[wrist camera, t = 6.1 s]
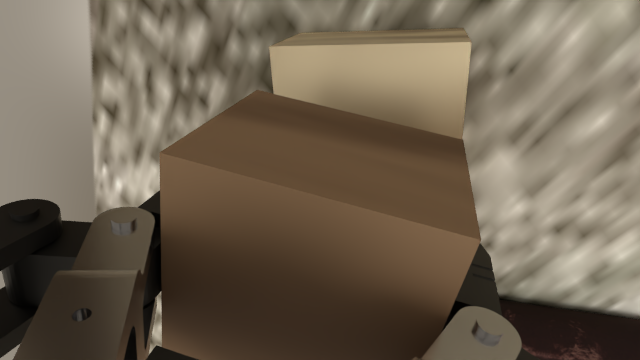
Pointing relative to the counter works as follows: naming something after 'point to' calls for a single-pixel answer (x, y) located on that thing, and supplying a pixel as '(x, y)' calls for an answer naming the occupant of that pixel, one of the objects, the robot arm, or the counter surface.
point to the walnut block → (311, 235)
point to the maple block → (380, 74)
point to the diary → (573, 333)
